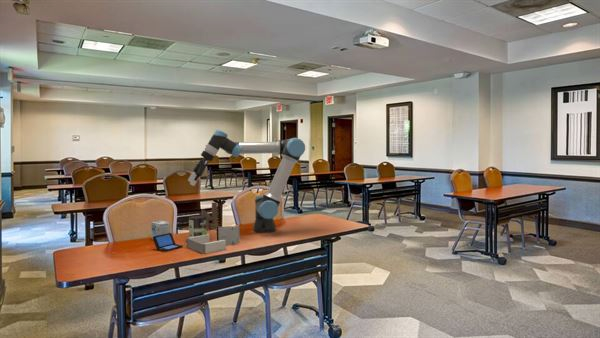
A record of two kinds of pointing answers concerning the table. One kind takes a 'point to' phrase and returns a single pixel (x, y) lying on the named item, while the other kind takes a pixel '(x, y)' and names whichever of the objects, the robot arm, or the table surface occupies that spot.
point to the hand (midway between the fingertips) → (190, 183)
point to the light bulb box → (160, 228)
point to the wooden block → (208, 217)
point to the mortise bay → (205, 244)
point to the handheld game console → (165, 243)
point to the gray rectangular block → (228, 234)
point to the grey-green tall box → (197, 226)
